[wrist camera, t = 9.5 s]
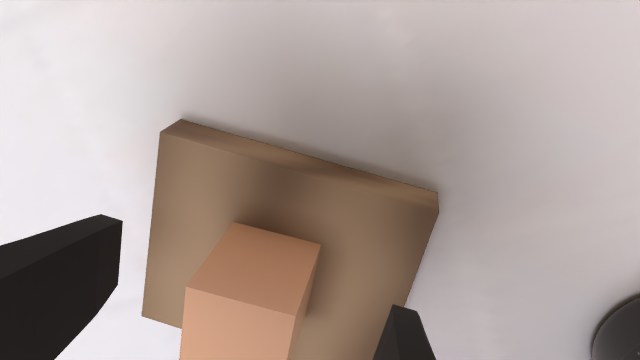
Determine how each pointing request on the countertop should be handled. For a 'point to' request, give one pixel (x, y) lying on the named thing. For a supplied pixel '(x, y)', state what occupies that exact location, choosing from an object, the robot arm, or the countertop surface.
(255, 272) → the terracotta block
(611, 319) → the supplement bottle
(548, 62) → the countertop surface
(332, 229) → the walnut board
